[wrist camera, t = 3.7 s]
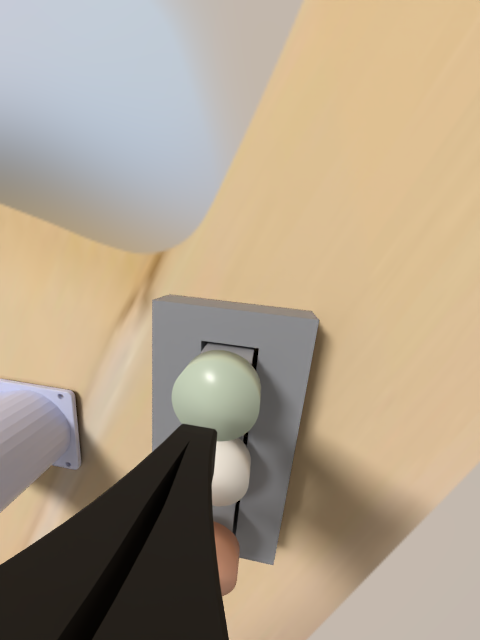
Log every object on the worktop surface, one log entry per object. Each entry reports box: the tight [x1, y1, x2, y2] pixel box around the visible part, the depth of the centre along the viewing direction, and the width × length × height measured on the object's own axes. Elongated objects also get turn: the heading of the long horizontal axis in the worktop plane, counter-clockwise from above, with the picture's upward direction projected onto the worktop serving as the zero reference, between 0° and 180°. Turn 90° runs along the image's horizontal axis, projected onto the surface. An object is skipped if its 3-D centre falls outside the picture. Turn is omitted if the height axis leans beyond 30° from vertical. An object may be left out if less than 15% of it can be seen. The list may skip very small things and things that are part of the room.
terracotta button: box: [213, 503, 240, 596], centre depth 16 cm, size 4×4×4 cm
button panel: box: [152, 295, 319, 565], centre depth 17 cm, size 20×10×2 cm, turn 175°
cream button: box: [212, 435, 251, 506], centre depth 16 cm, size 4×4×4 cm
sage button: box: [172, 342, 261, 441], centre depth 13 cm, size 4×4×4 cm
